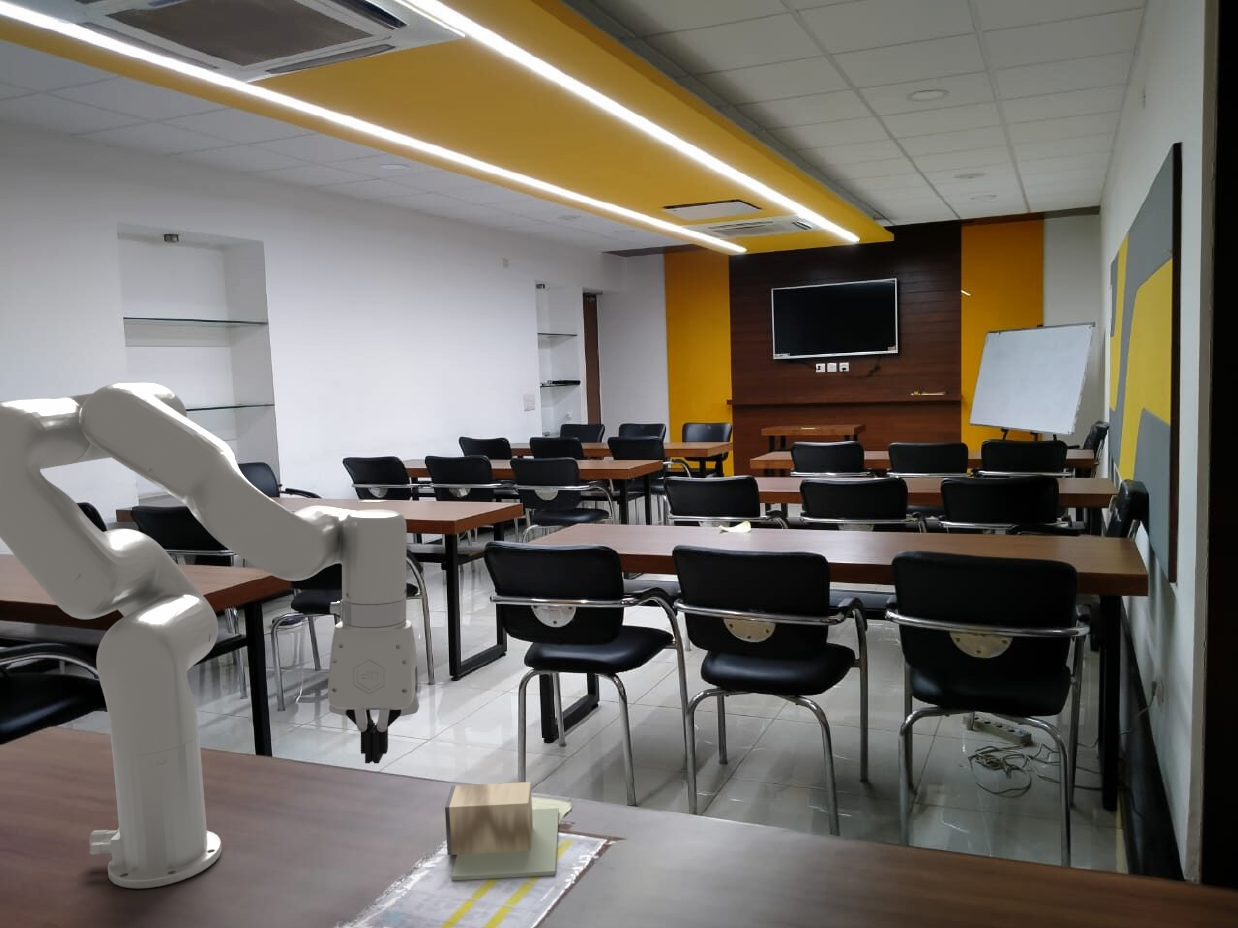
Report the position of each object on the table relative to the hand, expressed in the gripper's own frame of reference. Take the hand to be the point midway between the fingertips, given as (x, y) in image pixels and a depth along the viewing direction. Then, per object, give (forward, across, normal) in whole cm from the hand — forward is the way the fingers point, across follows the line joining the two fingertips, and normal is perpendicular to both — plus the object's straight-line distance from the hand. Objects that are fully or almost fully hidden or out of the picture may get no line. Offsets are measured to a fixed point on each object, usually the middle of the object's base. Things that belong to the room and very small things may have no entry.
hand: (374, 758), depth 116 cm
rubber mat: (+11, +17, 0) cm, 20 cm away
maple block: (+8, +9, 0) cm, 12 cm away
